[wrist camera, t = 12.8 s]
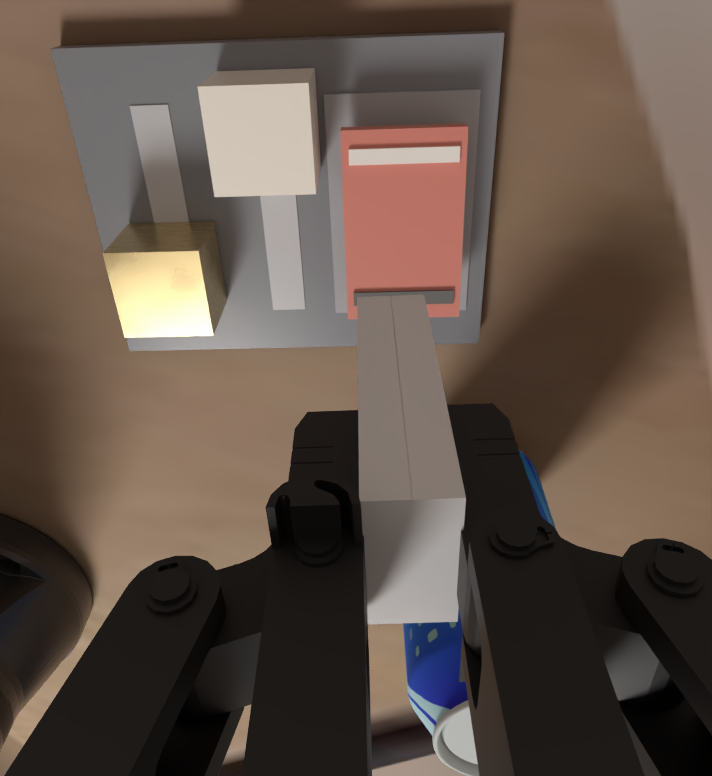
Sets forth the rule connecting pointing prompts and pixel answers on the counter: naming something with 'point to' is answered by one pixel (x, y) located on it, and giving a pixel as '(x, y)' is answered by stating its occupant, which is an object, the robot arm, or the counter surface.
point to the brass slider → (167, 279)
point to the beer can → (449, 674)
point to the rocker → (404, 212)
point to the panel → (279, 212)
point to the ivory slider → (261, 132)
